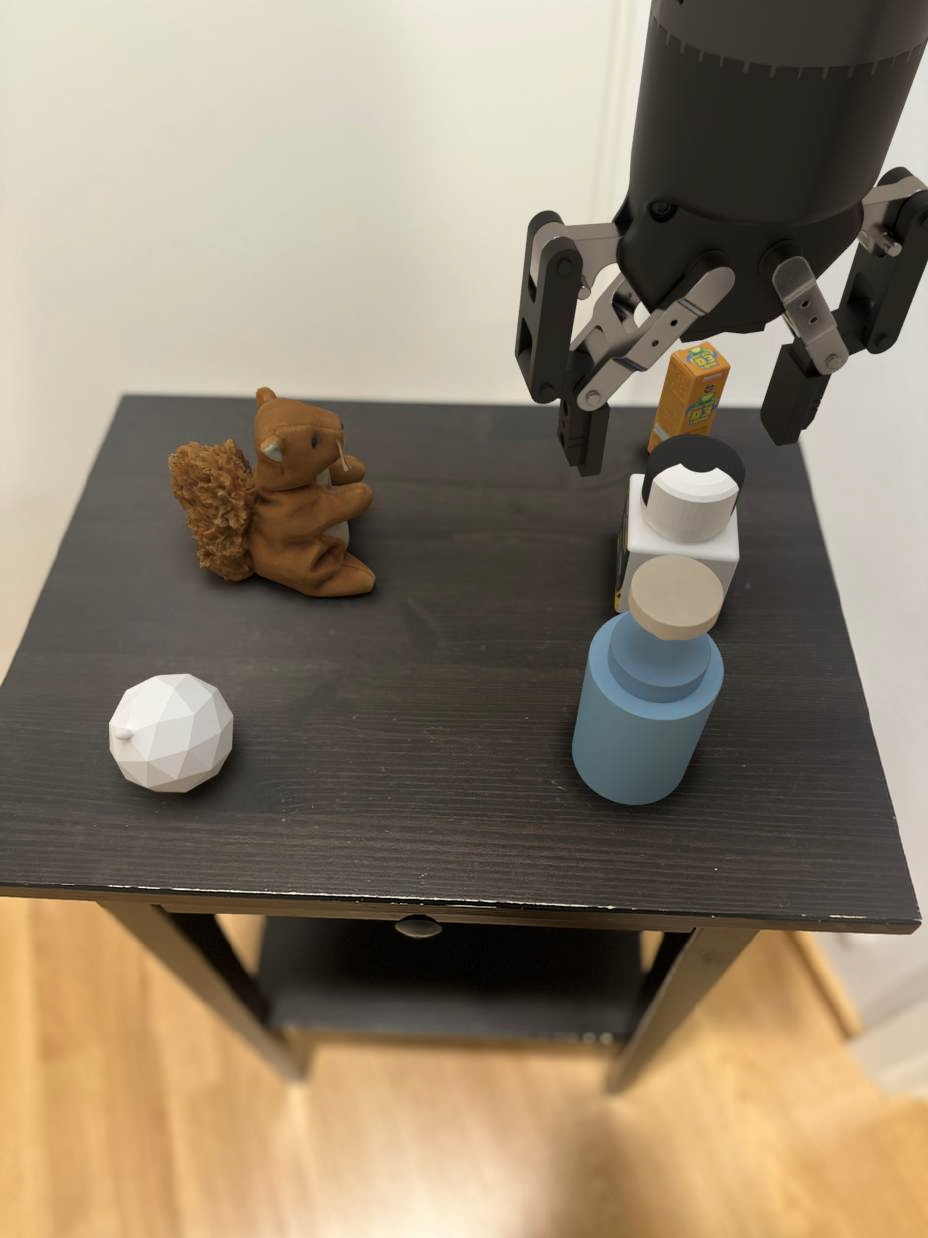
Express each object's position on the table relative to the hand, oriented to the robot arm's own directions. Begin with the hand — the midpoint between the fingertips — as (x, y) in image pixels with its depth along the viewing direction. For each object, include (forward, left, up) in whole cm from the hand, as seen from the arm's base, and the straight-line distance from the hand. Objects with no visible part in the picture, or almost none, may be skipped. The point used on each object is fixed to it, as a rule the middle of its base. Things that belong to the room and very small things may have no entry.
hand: (681, 447), depth 37 cm
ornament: (+27, +1, -24) cm, 36 cm away
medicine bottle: (-6, -12, -24) cm, 28 cm away
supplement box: (-9, -25, -24) cm, 36 cm away
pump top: (-1, +2, -11) cm, 11 cm away
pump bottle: (-1, +2, -24) cm, 24 cm away
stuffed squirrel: (+22, -16, -24) cm, 37 cm away
